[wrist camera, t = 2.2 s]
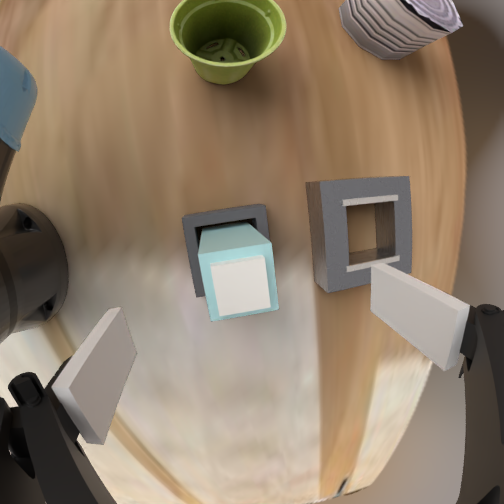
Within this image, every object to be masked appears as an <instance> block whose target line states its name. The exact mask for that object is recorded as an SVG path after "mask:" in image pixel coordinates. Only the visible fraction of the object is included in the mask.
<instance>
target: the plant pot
mask: <svg viewBox="0 0 504 504" xmlns="http://www.w3.org/2000/svg"><path fill="white" fill-rule="evenodd" d="M285 33H286V20H285V17H284V14H283V12H282V10H281V9H280V7H279V6H278V5H277V4H276V3H275V2H274V1H273V0H183V1H182V2H181V3H180V4H179V5H178V6H177V7H176V9H175V10H174V12H173V14H172V17H171V20H170V34H171V37H172V39H173V41H174V43H175V45H176V46H177V47H178V49H179V50H180V51H181V52H182V53H184V54H185V55H186V56H188V57H189V58H190V59H191V61H192V63H193V66H194V68H195V70H196V72H197V73H198V74H199V76H200V77H202V78H203V79H204V80H206V81H209V82H212V83H217V84H230V83H233V82H236V81H238V80H240V79H241V78H243V77H244V76H245V75H246V74H247V73H248V71H249V70H250V69H251V68H252V66H253V65H254V64H255V63H256V62H258V61H260V60H262V59H264V58H266V57H267V56H269V55H270V54H271V53H273V52H274V51H275V50H276V49H277V48H278V47H279V45H280V44H281V42H282V41H283V39H284V36H285ZM214 43H218V45H216V46H213V47H211V48H208V49H207V47H208V46H209V45H211V44H214ZM237 48H241V49H242V51H243V52H244V54H245V56H244V57H243V56H242V54H241V52H240V51H239V50H238V49H237ZM221 57H224V58H225V60H224V61H221V60H220V58H221Z"/></svg>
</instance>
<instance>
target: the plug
mask: <svg viewBox="0 0 504 504" xmlns="http://www.w3.org/2000/svg"><path fill="white" fill-rule="evenodd" d="M198 258H199V264H200V269H201V274H202V280H203V285H204V290H205V295H206V300H207V305H208V310H209V315H210V320H211V321H218V320H224V319H230V318H236V317H242V316H247V315H253V314H258V313H264V312H269V311H274V310H279V306H278V296H277V287H276V278H275V269H274V260H273V251H272V243H271V242H270V241H269V240H268V239H267V238H265V237H264V236H263V235H262V234H261V233H259V232H258V231H257V230H256V229H255V228H254V227H252V226H251V225H250V224H249V223H248V222H247V221H245V222H238V223H232V224H225V225H219V226H213V227H206V228H203V229H202V234H201V240H200V245H199V251H198Z"/></svg>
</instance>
